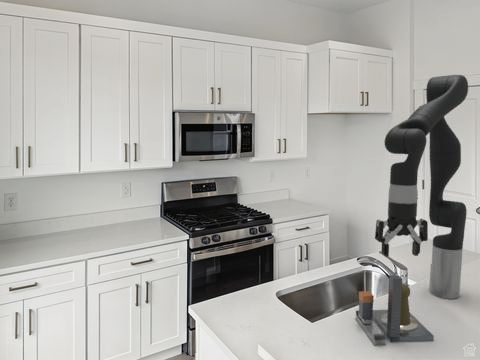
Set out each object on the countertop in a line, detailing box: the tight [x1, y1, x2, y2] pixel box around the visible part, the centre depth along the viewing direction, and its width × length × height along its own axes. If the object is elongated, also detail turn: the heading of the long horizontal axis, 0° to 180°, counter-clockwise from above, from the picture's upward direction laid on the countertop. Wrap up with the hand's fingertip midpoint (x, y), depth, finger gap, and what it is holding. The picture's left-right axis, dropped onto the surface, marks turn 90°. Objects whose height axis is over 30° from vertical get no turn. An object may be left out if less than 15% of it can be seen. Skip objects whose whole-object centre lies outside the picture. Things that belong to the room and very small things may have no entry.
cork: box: [400, 283, 411, 326], centre depth 112 cm, size 6×6×11 cm
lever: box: [358, 290, 375, 324], centre depth 113 cm, size 5×3×8 cm, turn 2°
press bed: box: [372, 274, 435, 343], centre depth 112 cm, size 16×12×18 cm
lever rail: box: [355, 309, 387, 346], centre depth 110 cm, size 15×3×3 cm, turn 2°
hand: (400, 255), depth 110 cm, fingers open, 8 cm apart
